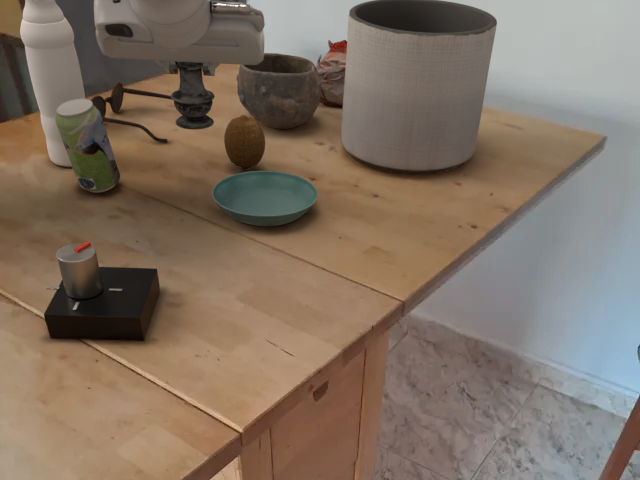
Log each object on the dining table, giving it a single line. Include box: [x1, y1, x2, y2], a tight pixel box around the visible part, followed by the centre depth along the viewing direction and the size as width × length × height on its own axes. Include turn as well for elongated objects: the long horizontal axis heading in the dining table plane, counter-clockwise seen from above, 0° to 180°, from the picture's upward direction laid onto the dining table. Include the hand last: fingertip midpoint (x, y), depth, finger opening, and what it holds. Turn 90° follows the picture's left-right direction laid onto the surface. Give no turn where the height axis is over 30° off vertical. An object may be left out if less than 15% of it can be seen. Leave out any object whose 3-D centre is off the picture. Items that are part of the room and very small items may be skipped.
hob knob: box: [55, 241, 103, 299], centre depth 73 cm, size 4×4×5 cm
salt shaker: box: [170, 62, 216, 130], centre depth 91 cm, size 6×6×12 cm
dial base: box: [43, 266, 161, 342], centre depth 76 cm, size 11×10×3 cm
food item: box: [315, 39, 347, 108], centre depth 130 cm, size 14×8×10 cm, turn 169°
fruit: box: [223, 114, 266, 170], centre depth 104 cm, size 6×6×8 cm
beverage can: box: [55, 97, 121, 194], centre depth 96 cm, size 6×7×12 cm
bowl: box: [236, 52, 322, 130], centre depth 118 cm, size 14×15×10 cm
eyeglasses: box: [90, 81, 174, 144], centre depth 118 cm, size 15×15×5 cm
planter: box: [340, 0, 498, 176], centre depth 107 cm, size 22×22×20 cm
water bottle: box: [19, 0, 86, 168], centre depth 99 cm, size 7×7×25 cm
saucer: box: [211, 170, 319, 227], centre depth 96 cm, size 15×15×3 cm
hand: (191, 69), depth 91 cm, fingers closed on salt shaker, 3 cm apart
